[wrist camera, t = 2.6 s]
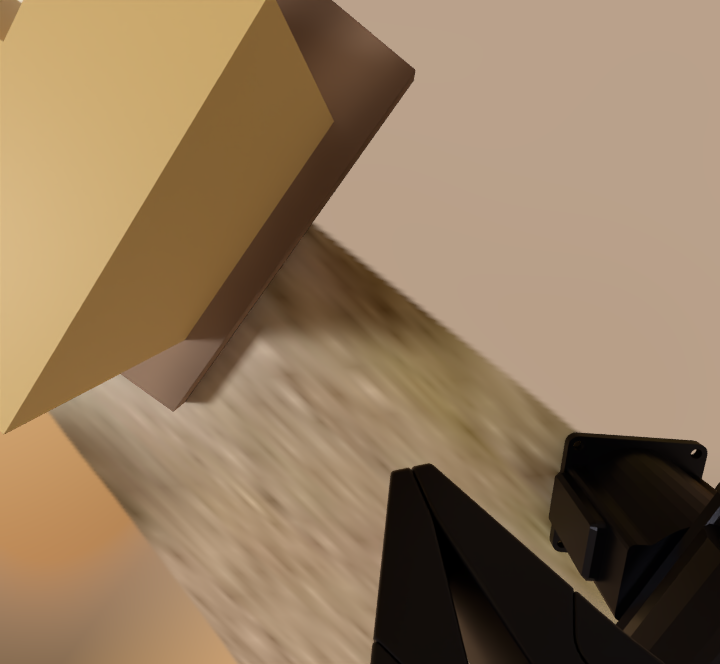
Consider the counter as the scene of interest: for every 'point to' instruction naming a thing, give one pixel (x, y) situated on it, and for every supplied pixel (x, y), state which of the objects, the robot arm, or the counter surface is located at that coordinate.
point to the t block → (134, 176)
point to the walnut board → (306, 193)
